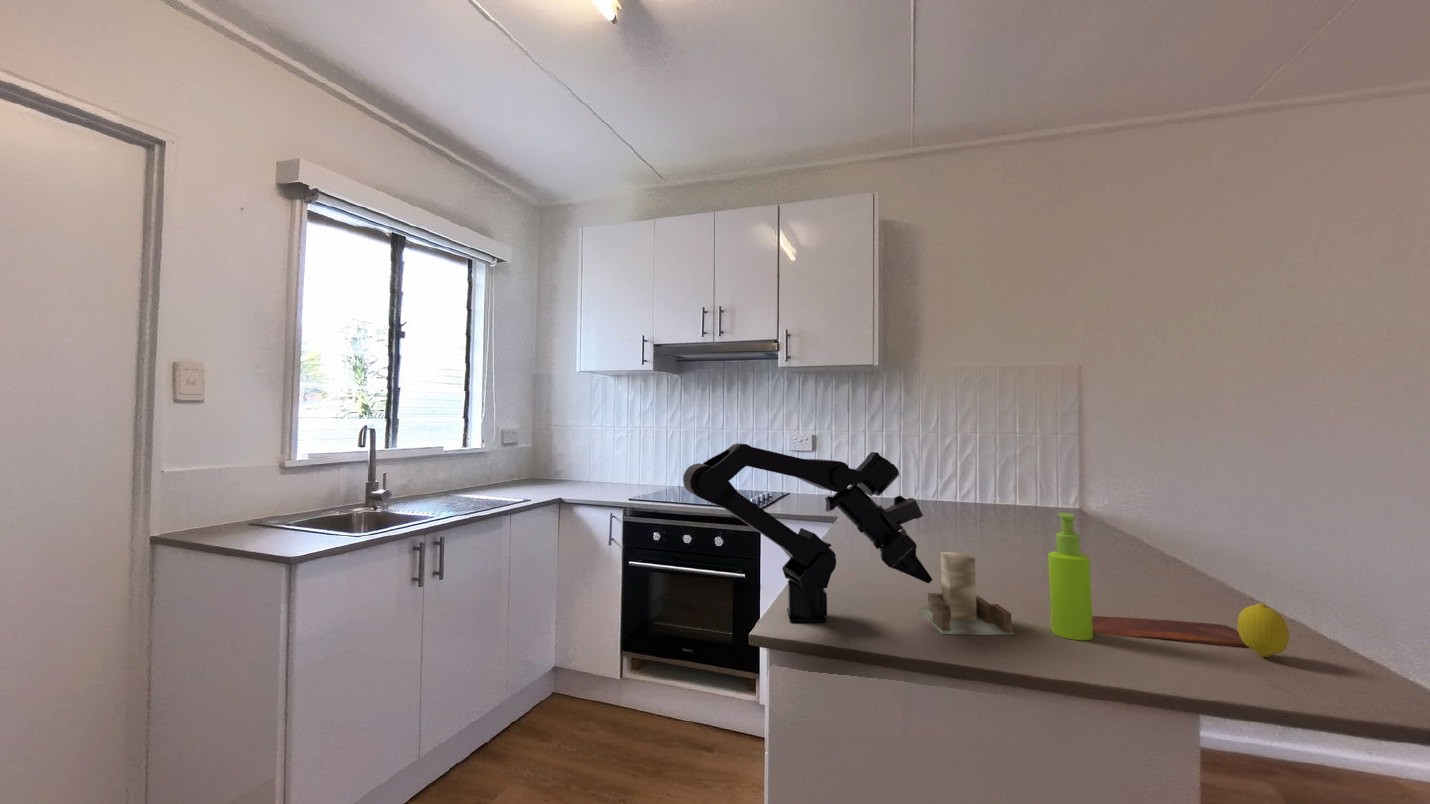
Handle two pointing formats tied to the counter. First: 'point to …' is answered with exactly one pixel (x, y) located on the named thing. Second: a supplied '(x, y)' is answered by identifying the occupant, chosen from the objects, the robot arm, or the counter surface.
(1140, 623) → the wooden tablet
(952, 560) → the birch post
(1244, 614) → the lemon
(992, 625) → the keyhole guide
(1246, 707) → the counter surface
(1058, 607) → the soap dispenser
